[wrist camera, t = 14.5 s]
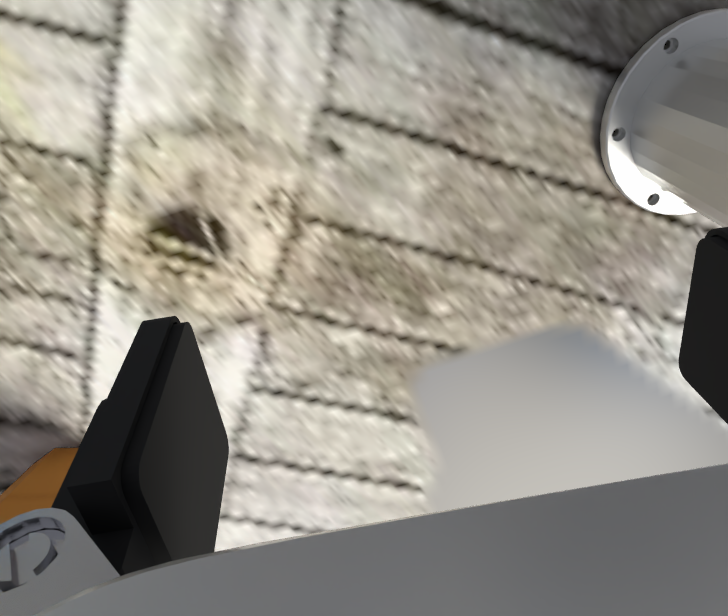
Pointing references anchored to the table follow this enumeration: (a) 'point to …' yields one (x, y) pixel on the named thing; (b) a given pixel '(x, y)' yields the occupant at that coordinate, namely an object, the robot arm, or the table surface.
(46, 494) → the potted plant
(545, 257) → the table surface
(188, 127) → the table surface
